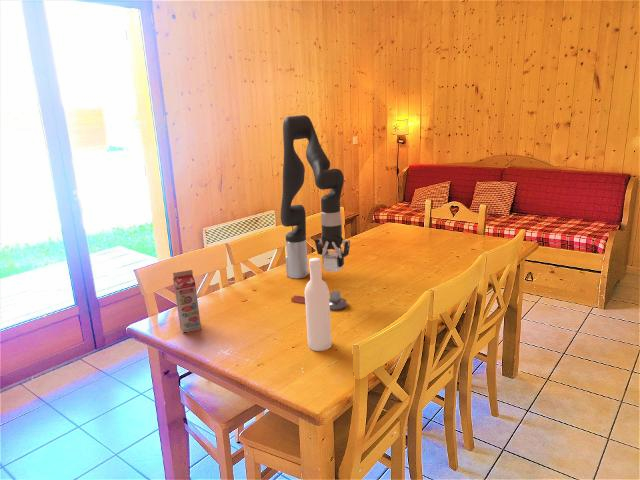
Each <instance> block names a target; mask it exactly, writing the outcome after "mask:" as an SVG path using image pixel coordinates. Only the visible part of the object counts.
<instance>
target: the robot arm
mask: <svg viewBox="0 0 640 480" xmlns="http://www.w3.org/2000/svg"><path fill="white" fill-rule="evenodd" d="M282 136H283V137H282V139H283V141H282V142H283V166H282V194H281V195H282V197H281V204H280V205H281V206H280V223H281V225H282V226H283V227H285V228H286V227H294V228H293V229H292V230H291V231H290V232H287V233H286V234H285V245H286V256H285V269H286V277H289V278H291V279H303V278H306V277H308V276H309V260H308V249H307V248H308V246H307V227H306V226H307V224H306V223H307V222H306V219H307V216H306V210H305V207H304V205H302V204H293V205H292V202H293V201H294V199H295V197H296V196H297V194H298V193H299V191H300V190H301V188H302V187H303V185H304V183H305V174H306V173H305V172H306V171H305V170H306V169H305V165H304V162H303V161H302V160H301V158H300V157H299V155H298V153H297V152H296V150H295V147H294V146H295V145H294V141H296V140H303V139H306V140H307V141H308V142H307V147H306V151H305V157H306V159H307V162H308V163H309V166H310V168H311V169H312V172H313V178H314V183H315V186H316V187H317V189H319V190H322V191H325V190H330V192H329V193H326V194H325V195H322V196H321V198H320V205H321V206H320V208H321V209H320V211H321V215H320V218H321V219H320V223H321V236H322V237H321V238H320V237H318V238H316V239H314V244H315V248H316V252H317V255H320V256H322V258H323V255H325V254H326V253H328V252H329V251H330V250H333V251H334V252H336V253H337V254H338V256H339V267H342V266H343V267H344V265H345V258H346V257H347V256H349V254H350V253H349V251H350V247H351V240H345V239H343V229H342V222H343V221H342V213H341V196H342V191H343V186H344V181H345V177H344V174H343V173H344V172H343V171H342V170H341V169H339V168H331V161H330V160H329V158H328V157H327V155H326V153H325V151H324V149H323V148H322V145H321V144H320V141H319V137H318V134H317V133H316V130H315V127H314V124H313V122H312V120H311V118H310V117H309V116H307V115H290V116H286V117H285V118H284V119H283V121H282ZM330 168H331V169H330ZM322 244H323V245H324V246H323V245H322ZM342 245H343V247H342ZM322 264H323V265H324V263H323V262H322Z"/></svg>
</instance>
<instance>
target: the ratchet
mask: <svg viewBox="0 0 640 480" xmlns="http://www.w3.org/2000/svg"><path fill="white" fill-rule="evenodd" d="M329 301H330V312H331V311H332V312H336V311H337V312H339V311H343V310H344V309H346V308H347V306H348V305H347V303H348V302H347V300H346V299H345V298H343V297H341V291H340V290H332V291H330V292H329ZM290 302H291V303H297V304H303V305H305V296H303V295H301V296H300V295H293V296H292V297H291V301H290Z"/></svg>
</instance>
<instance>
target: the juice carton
mask: <svg viewBox="0 0 640 480" xmlns="http://www.w3.org/2000/svg"><path fill="white" fill-rule="evenodd" d="M193 274H194V272H193V269H190V270H189V269H188V270H183V271H178V272H177V271H176V272H172V275H173V279H172V280H173V287H174V288H173V289H174V293H175V302H176V308H177V315H178V321H179V323H178V324H179V328H180V327H181V328H180V331H181V333H182V332H183V333H182V334H185V333H184V332H187V333H191V332H190V331H192V332H195V330H196V331H199V330H202V325H201V317H200V310H199V302H198V296H197V295H198V294H197V293H198V292H197V286H196V281H195V277H194V275H193Z"/></svg>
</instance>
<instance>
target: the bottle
mask: <svg viewBox="0 0 640 480" xmlns="http://www.w3.org/2000/svg"><path fill="white" fill-rule="evenodd" d="M308 267H309V277H310V279H309V281H308V282H307V283H306V285H305V288H304V297H305V304H304V305H305V318H306V319H305V321H306V331H307V332H306V333H307V334H306V335H307V345H308V346H307V347H308V348H309V350H312V351H315V352H323V351H327V350H328V349H330V348H331V347H332V345H333V343H332V341H333V338H332V324H331V310H330V301H329V299H330V290H329V286H328V283H327V282H326V281H324V280H323V279H322V278H323V277H322V260H321V258H319V257H313V258H309V260H308Z"/></svg>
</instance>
